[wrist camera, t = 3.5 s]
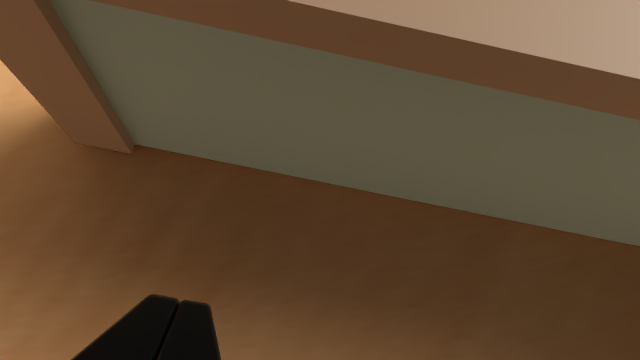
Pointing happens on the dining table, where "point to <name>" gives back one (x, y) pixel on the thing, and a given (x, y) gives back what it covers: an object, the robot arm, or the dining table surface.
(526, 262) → the dining table surface
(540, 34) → the gate
